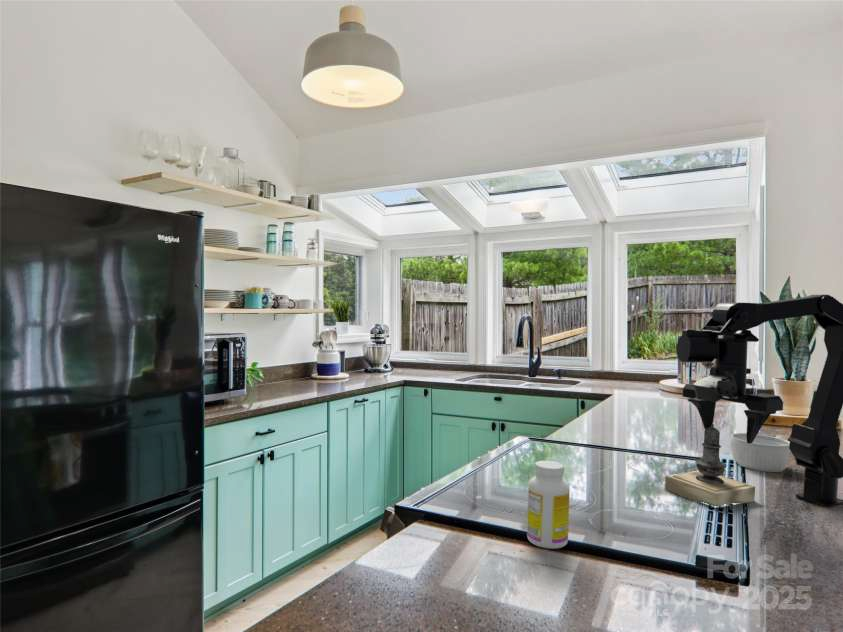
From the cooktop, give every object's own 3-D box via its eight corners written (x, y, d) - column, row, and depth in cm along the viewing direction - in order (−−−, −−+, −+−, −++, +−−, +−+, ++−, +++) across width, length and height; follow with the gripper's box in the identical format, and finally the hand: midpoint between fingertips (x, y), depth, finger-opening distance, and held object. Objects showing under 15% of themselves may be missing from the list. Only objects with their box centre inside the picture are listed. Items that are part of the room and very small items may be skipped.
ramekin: (773, 460, 146) (774, 434, 146) (802, 475, 133) (803, 447, 133) (720, 457, 147) (722, 431, 147) (744, 472, 134) (746, 444, 134)
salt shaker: (729, 485, 113) (732, 427, 113) (698, 483, 114) (701, 425, 114) (719, 476, 119) (722, 421, 119) (690, 474, 120) (693, 419, 120)
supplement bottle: (569, 536, 93) (572, 461, 93) (566, 553, 87) (569, 472, 87) (529, 530, 96) (532, 456, 95) (523, 546, 89) (526, 467, 89)
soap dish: (702, 483, 125) (702, 468, 125) (754, 501, 114) (755, 485, 114) (665, 489, 119) (665, 474, 119) (716, 509, 109) (716, 492, 109)
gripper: (665, 359, 119) (663, 431, 120) (749, 370, 102) (746, 453, 103) (701, 357, 124) (698, 427, 124) (786, 367, 107) (783, 447, 108)
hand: (728, 437), depth 115 cm, fingers open, 9 cm apart
